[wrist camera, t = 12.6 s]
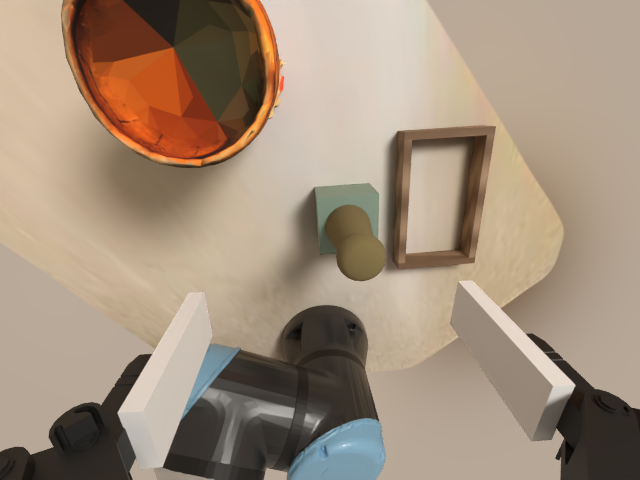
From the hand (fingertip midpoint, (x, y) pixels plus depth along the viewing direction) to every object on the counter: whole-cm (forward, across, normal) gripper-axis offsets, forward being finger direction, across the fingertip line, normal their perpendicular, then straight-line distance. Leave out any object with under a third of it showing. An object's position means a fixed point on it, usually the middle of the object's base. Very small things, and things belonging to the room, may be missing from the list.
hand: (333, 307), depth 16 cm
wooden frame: (+31, -18, +3) cm, 36 cm away
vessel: (+31, +10, -12) cm, 35 cm away
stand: (+31, -4, +5) cm, 31 cm away
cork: (+25, -4, +5) cm, 26 cm away
